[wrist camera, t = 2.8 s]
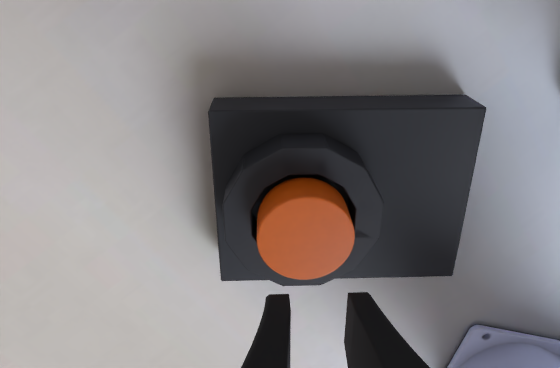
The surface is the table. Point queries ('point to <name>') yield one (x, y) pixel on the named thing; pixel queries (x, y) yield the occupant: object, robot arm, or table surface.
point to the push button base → (349, 176)
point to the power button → (304, 229)
